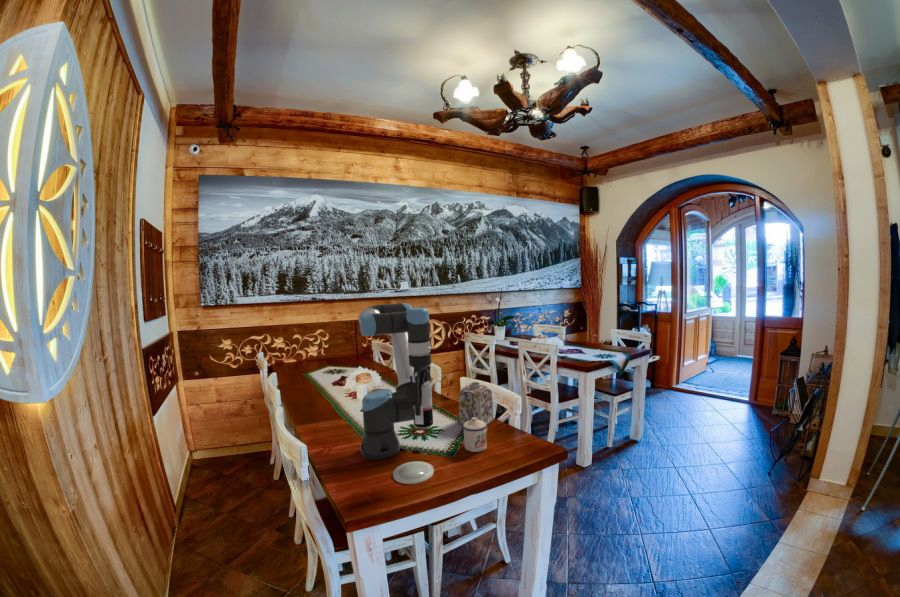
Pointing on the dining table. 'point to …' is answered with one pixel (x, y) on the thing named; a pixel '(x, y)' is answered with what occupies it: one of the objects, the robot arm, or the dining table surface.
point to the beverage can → (426, 406)
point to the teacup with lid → (475, 435)
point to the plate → (413, 472)
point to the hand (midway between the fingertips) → (423, 419)
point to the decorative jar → (475, 403)
